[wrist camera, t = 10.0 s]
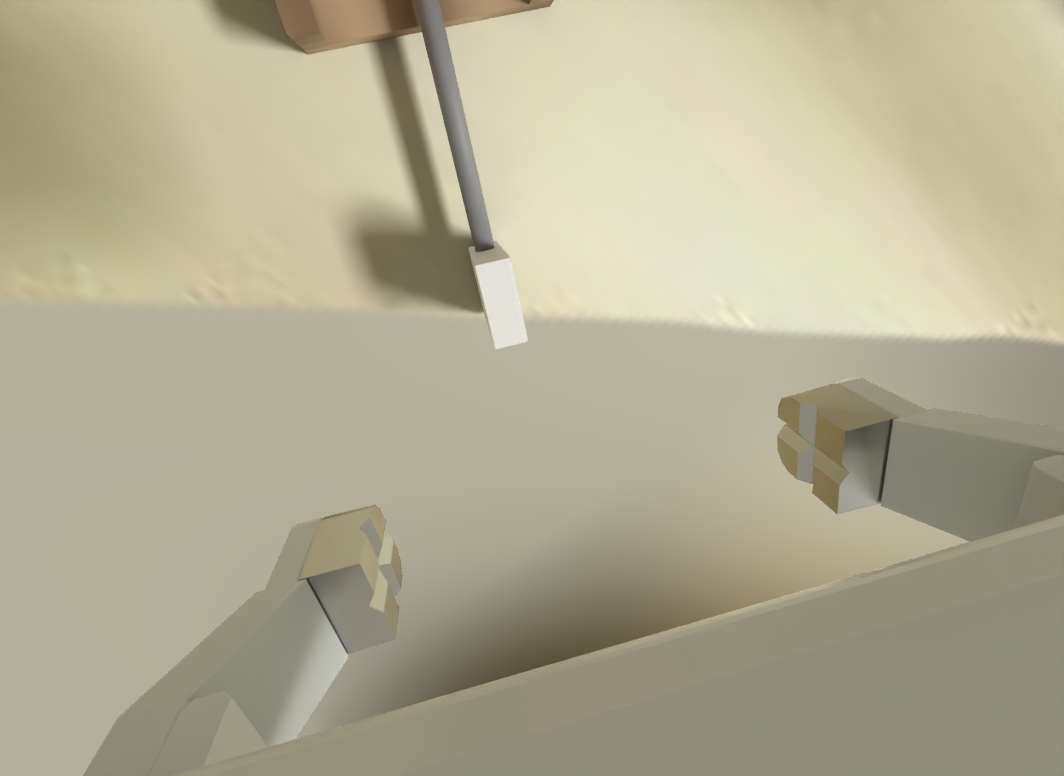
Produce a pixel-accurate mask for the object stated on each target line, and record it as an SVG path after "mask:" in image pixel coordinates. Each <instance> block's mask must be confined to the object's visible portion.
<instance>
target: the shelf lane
mask: <svg viewBox="0 0 1064 776" xmlns="http://www.w3.org/2000/svg"><path fill="white" fill-rule="evenodd" d="M553 1H554V0H439V4H440V8H441V13H442V17H443V22H444V26H445V27H448V26H453V25H458V24H463V23H468V22H474V21H479V20H484V19H489V18H494V17H499V16H504V15H509V14H514V13H519V12H524V11H529V10H534V9H539V8H544V7H549V6H550V5H551V4H552V2H553ZM275 3H276V6H277V9H278V12H279V15H280V17H281V20H282V23H283V26H284V29H285V32H286V35H287V36H288V37H289V38H291V39H292V40H293V41H294V42H295V43H296V44H297V45H298V46H299V47H300V48H302V49H303V50H304V51H305V52H306V53H307V54H312V53H317V52H322V51H327V50H332V49H337V48H342V47H348V46H353V45H358V44H363V43H368V42H373V41H378V40H383V39H388V38H393V37H398V36H403V35H408V34H413V33H418V32H422V29H421V25H420V21H419V17H418V13H417V9H416V5H415V0H275Z"/></svg>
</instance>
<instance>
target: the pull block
mask: <svg viewBox="0 0 1064 776" xmlns="http://www.w3.org/2000/svg"><path fill="white" fill-rule="evenodd" d="M415 5H416V9H417V13H418V17H419V21H420V25H421V29H422V33H423V37H424V42H425V46H426V50H427V54H428V58H429V62H430V66H431V70H432V74H433V78H434V83H435V87H436V91H437V95H438V99H439V103H440V107H441V111H442V115H443V120H444V124H445V128H446V132H447V136H448V140H449V144H450V148H451V152H452V156H453V161H454V165H455V169H456V173H457V177H458V181H459V185H460V189H461V193H462V198H463V202H464V206H465V210H466V214H467V218H468V222H469V226H470V230H471V235H472V239H473V243H474V246H472V247H468V250H469V254H470V258H471V262H472V266H473V270H474V274H475V278H476V282H477V286H478V290H479V294H480V298H481V302H482V306H483V310H484V314H485V318H486V321H487V324H488V327H489V330H490V333H491V336H492V340H493V343H494V346H495V349H499V348H503V347H507V346H511V345H515V344H519V343H523V342H527V341H528V338H527V334H526V329H525V324H524V320H523V315H522V310H521V306H520V301H519V296H518V292H517V287H516V282H515V278H514V273H513V268H512V264H511V259H510V257H509V256H508V254H507V253H506V252H505V251H504V250H503V248H502V247H501V246H500V245H499V244H498V243H497V241H493V238H492V234H491V229H490V225H489V220H488V216H487V212H486V207H485V203H484V198H483V194H482V190H481V185H480V181H479V176H478V172H477V167H476V163H475V159H474V154H473V150H472V145H471V141H470V136H469V132H468V128H467V123H466V119H465V114H464V110H463V106H462V101H461V97H460V92H459V88H458V83H457V79H456V75H455V70H454V66H453V61H452V57H451V53H450V48H449V44H448V39H447V35H446V30H445V26H444V22H443V17H442V13H441V8H440V4H439V0H415Z"/></svg>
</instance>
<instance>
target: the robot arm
mask: <svg viewBox="0 0 1064 776" xmlns="http://www.w3.org/2000/svg"><path fill="white" fill-rule="evenodd" d="M778 418H779V419H780V420H781V421H782V422H783V423H784V424H785V425H784V426H783V428H782V430H781V431H780V433H779V434H778V436H777V440H778V441H777V443H778V452H779V455H780V458H781V461H782V463H783V464H784V466H785V468H786V469H787V470H788V471H789V473H790V474H792V475H793V476H794V477H795V478H796V479H798V480H801V481H804V482H807V483H810V484H812V493H813V494H814V495H815V496H816V497H818V498H819V499H820V500H821V501H823V502H824V503H825V504H826V505H827V506H828V507H829V508H830V509H832V510H833V511H834V512H835V513H836V514H841V513H844V512H849V511H852V510H856V509H861V508H864V507H868V506H872V505H876V504H880V503H881V506H883V507H885V508H888V509H891V510H893V511H895V512H898V513H900V514H903V515H906V516H908V517H910V518H913V519H915V520H918V521H921V522H923V523H925V524H928V525H930V526H933V527H935V528H938V529H940V530H943V531H945V532H948V533H950V534H953V535H955V536H958V537H960V538H963V539H965V540H968V541H970V542H968V543H965V544H961V545H958V546H955V547H951V548H948V549H945V550H941V551H938V552H934V553H931V554H928V555H924V556H921V557H917V558H914V559H910V560H907V561H903V562H900V563H897V564H893V565H890V566H886V567H883V568H879V569H876V570H873V571H869V572H866V573H862V574H859V575H855V576H852V577H848V578H845V579H842V580H838V581H834V582H831V583H828V584H824V585H821V586H817V587H814V588H810V589H807V590H803V591H800V592H797V593H793V594H790V595H786V596H783V597H779V598H776V599H772V600H769V601H766V602H762V603H759V604H755V605H752V606H749V607H745V608H742V609H738V610H735V611H732V612H728V613H725V614H721V615H718V616H714V617H711V618H708V619H704V620H701V621H697V622H694V623H691V624H687V625H684V626H680V627H677V628H674V629H670V630H667V631H663V632H660V633H657V634H653V635H650V636H646V637H643V638H640V639H636V640H633V641H629V642H626V643H623V644H619V645H616V646H612V647H609V648H605V649H602V650H599V651H595V652H592V653H588V654H585V655H582V656H579V657H575V658H571V659H568V660H565V661H561V662H558V663H555V664H551V665H547V666H544V667H541V668H538V669H534V670H530V671H527V672H524V673H520V674H517V675H513V676H510V677H507V678H503V679H500V680H496V681H493V682H490V683H486V684H483V685H479V686H476V687H472V688H469V689H466V690H462V691H459V692H455V693H452V694H448V695H445V696H442V697H438V698H435V699H431V700H428V701H425V702H421V703H418V704H414V705H411V706H407V707H404V708H401V709H398V710H394V711H390V712H387V713H384V714H380V715H377V716H373V717H370V718H366V719H363V720H360V721H356V722H353V723H349V724H346V725H343V726H339V727H336V728H332V729H329V730H325V731H322V732H319V733H315V734H312V735H308V736H305V737H302V738H298V739H296V737H297V736H298V734H299V733H300V731H301V729H302V728H303V726H304V725H305V723H306V722H307V720H308V719H309V717H310V716H311V714H312V713H313V711H314V709H315V708H316V706H317V705H318V703H319V702H320V700H321V699H322V697H323V696H324V694H325V692H326V691H327V689H328V687H329V686H330V685H331V683H332V682H333V680H334V679H335V677H336V675H337V674H338V672H339V671H340V669H341V668H342V666H343V665H344V663H345V661H346V660H347V658H348V655H347V654H350V653H354V652H356V651H360V650H363V649H366V648H369V647H373V646H376V645H379V644H382V643H385V642H389V641H392V640H395V639H396V635H397V625H398V615H399V606H398V604H397V601H396V599H395V596H396V595H397V593H398V592H399V591H400V590H401V586H402V567H401V560H400V556H399V552H398V549H397V546H396V544H395V541H394V539H392V538H391V537H389V536H387V535H385V534H384V532H385V526H386V520H385V518H384V516H383V514H382V512H381V509H380V508H379V507H378V506H376V505H372V506H368V507H364V508H360V509H355V510H351V511H347V512H343V513H339V514H335V515H331V516H327V517H324V518H318V519H314V520H311V521H307V522H303V523H300V524H297V525H295V526H294V527H292V529H291V531H290V533H289V536H288V538H287V540H286V543H285V545H284V547H283V550H282V552H281V554H280V556H279V559H278V561H277V563H276V566H275V568H274V570H273V572H272V575H271V577H270V579H269V582H268V584H267V586H266V589H265V590H263V591H260V592H256V593H255V594H254V595H253V596H252V597H251V598H249V599H248V600H247V601H246V602H245V603H244V604H243V605H242V606H241V607H240V608H238V610H236V611H235V612H234V613H233V614H232V615H231V616H230V617H229V618H227V619H226V620H225V621H224V622H223V623H222V624H221V625H220V626H219V627H218V628H217V629H215V630H214V631H213V632H212V633H211V634H210V635H209V636H208V637H207V638H206V639H204V640H203V641H202V642H201V643H200V644H199V645H198V646H197V647H195V648H194V649H193V650H192V651H191V652H190V653H189V654H188V655H187V656H186V657H185V658H183V659H182V660H181V661H180V662H179V663H178V664H177V665H176V666H175V667H173V668H172V669H171V670H170V671H169V672H168V673H167V674H166V675H165V676H164V677H163V678H161V679H160V680H159V681H158V682H157V683H156V684H155V685H154V686H152V687H151V688H150V689H149V690H148V691H147V692H146V693H145V694H144V695H143V696H141V697H140V698H139V699H138V700H137V701H136V702H135V703H134V704H133V705H132V706H130V707H129V708H128V709H127V710H126V711H125V712H124V713H123V714H122V715H121V716H119V717H118V718H117V720H116V722H115V723H114V725H113V727H112V728H111V730H110V732H109V733H108V735H107V737H106V738H105V740H104V742H103V743H102V745H101V747H100V748H99V750H98V752H97V753H96V755H95V757H94V758H93V760H92V762H91V763H90V765H89V767H88V768H87V770H86V772H85V773H84V775H83V776H1064V428H1059V427H1052V426H1047V425H1040V424H1033V423H1027V422H1021V421H1014V420H1008V419H1001V418H995V417H988V416H982V415H976V414H969V413H962V412H956V411H950V410H943V409H936V408H934V409H930V410H926V409H924V408H922V407H919V406H918V405H916V404H913V403H911V402H909V401H907V400H905V399H903V398H901V397H899V396H897V395H895V394H893V393H891V392H889V391H887V390H885V389H883V388H881V387H879V386H877V385H875V384H873V383H871V382H869V381H867V380H865V379H863V378H855V377H852V378H848V379H845V380H842V381H838V382H835V383H832V384H829V385H826V386H823V387H819V388H816V389H812V390H809V391H805V392H802V393H798V394H795V395H791V396H788V397H784V398H782V399H781V401H780V403H779V406H778Z"/></svg>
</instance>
